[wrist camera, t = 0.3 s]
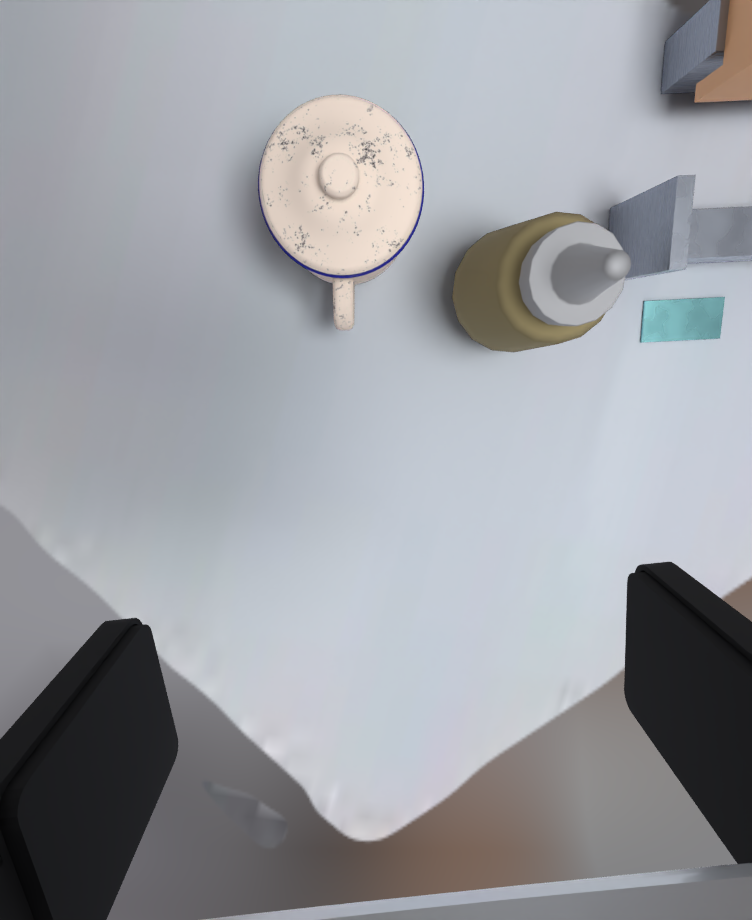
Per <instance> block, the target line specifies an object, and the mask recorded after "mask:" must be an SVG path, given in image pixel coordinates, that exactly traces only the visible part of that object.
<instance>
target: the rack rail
mask: <svg viewBox="0 0 752 920" xmlns="http://www.w3.org/2000/svg"><path fill="white" fill-rule="evenodd" d="M694 185H695V175H681V176H676V177H674V178H672V179H670V180H668V181H666V182H664V183H662V184H660V185H658V186H655V187H653V188H651V189H649V190H647V191H645V192H643V193H641V194H639V195H637V196H635V197H633V198H631V199H628V200H626V201H624V202H622V203H620V204H618V205H616V206H614V207H612V208H610V218H609V231H610V232H611V233H613V234H614V236H615V238H616V239H617V241H618V242H619V244H620V245H621V247H622V248H623V250H624V252H626V253H627V254H628V255H629V257H630V260H631V266H630V270H629V272H628V274H627V275H626V276H625V280H630V279H635V278H641V277H646V276H652V275H657V274H663V273H668V272H674V271H679V270H685V269H686V264H693V263H713V262H733V261H752V207H732V208H711V209H692V205H693V195H694ZM724 300H725V297H717V298H697V299H677V300H658V301H644V305H643V317H642V329H641V342H659V341H678V340H697V339H717V338H720V333H721V325H722V316H723V308H724Z"/></svg>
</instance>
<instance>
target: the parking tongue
mask: <svg viewBox="0 0 752 920" xmlns="http://www.w3.org/2000/svg"><path fill="white" fill-rule="evenodd" d="M729 3H730V0H709V1H708V2H707V3H706V4H705V5H704V6H703V7H702V8H701V9H700V10H699V11H698V12H697V13H696V14H694V15H693V16H692V17H691V18H690V19H689V20H688V21H687V22H686V23H685V24H684V25H683V26H682V27H681V28H680V29H679V30H677V31H676V32H675V33H674V34H673V35H672V36H671V37H670V38H669V39H668V40H667V41H666V42H665V50H664V62H663V74H662V86H661V94H672V93H694V92H695V91H696V84H697V83H699V82H700V81H701V80H703V79H704V78H705V77H707V76H708V75H710V74H711V73H712V72H714V71H715V70H716V69H718V68H719V67H720V66H722V65H723V58H724V49H725V40H726V30H727V21H728V12H729Z"/></svg>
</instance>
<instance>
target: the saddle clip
mask: <svg viewBox="0 0 752 920" xmlns="http://www.w3.org/2000/svg"><path fill="white" fill-rule="evenodd" d="M740 100H752V0H730V3H729V12H728V21H727V30H726V40H725V49H724V58H723V65H722V66H720V67H719V68H718V69H716V70H715V71H714V72H712V73H711V74H710V75H708V76H707V77H705V78H704V79H703V80H701V81H700V82H699V83H697V84H696V91H695V102H718V101H740ZM695 102H694V103H695Z"/></svg>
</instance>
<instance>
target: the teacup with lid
mask: <svg viewBox="0 0 752 920" xmlns="http://www.w3.org/2000/svg"><path fill="white" fill-rule="evenodd" d="M258 193H259V201H260V207H261V210H262V214H263V217H264V220H265V222H266V225H267V227H268V229H269V231H270V233H271V235H272V236H273V238H274V240H275V241H276V242H277V244H278V245H279V246H280V248H281V249H282V250H283V251H284V252H285V253H286V254H287V255H288V256H289V257H290V258H291V259H292V260H294V261H295V262H296V263H297V264H299V265H301V266H302V267H304V268H306V269H307V270H308V271H309V272H311V273H312V274H313V275H315V276H317V277H318V278H320V279H322V280H324V281H327V282H330V283H333V314H334V324H335V327H336V328H337V329H338V330H351V329H352V328H353V326H354V285H355V284H360V283H364V282H367V281H369V280H371V279H374V278H375V277H377V276H379V275H380V274H381V273H383V272H384V271H385V270H386V269H387V268H388V267H389V266H390V265H391V264H392V263H393V261H394V260H395V259H396V257H397V255H398V254H399V253H400V252H401V251H402V250H403V249H404V247H405V246H406V245H407V243H408V242H409V240H410V238H411V237H412V235H413V233H414V231H415V229H416V227H417V224H418V221H419V219H420V215H421V211H422V206H423V198H424V180H423V172H422V167H421V163H420V159H419V156H418V153H417V151H416V148H415V146H414V144H413V142H412V140H411V139H410V137H409V135H408V134H407V132H406V131H405V130H404V128H403V127H402V126H401V124H400V123H399V122H398V121H397V120H396V119H395V118H394V117H393V116H392V115H390V114H389V113H388V112H387V111H385V110H384V109H382V108H381V107H379V106H378V105H376V104H374V103H372V102H370V101H367V100H365V99H362V98H359V97H355V96H350V95H329V96H323V97H319V98H315V99H313V100H310V101H308V102H306V103H304V104H302V105H300V106H299V107H297V108H296V109H294V110H293V111H292V112H291V113H289V114H288V115H287V116H286V117H285V118H284V119H283V120H282V121H281V122H280V124H279V125H278V126H277V127H276V129H275V130H274V132H273V133H272V135H271V137H270V138H269V140H268V142H267V144H266V147H265V149H264V152H263V155H262V159H261V162H260V168H259V176H258Z"/></svg>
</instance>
